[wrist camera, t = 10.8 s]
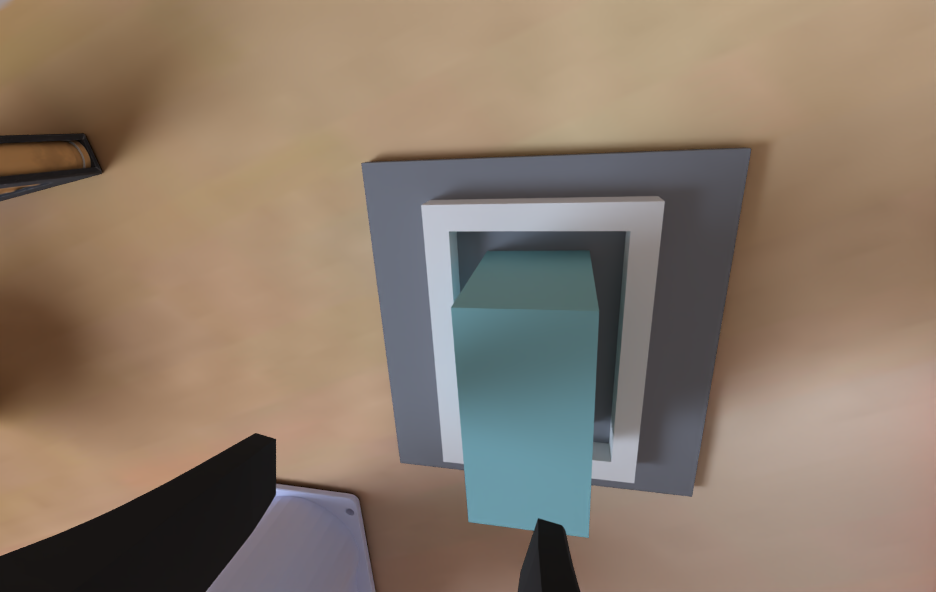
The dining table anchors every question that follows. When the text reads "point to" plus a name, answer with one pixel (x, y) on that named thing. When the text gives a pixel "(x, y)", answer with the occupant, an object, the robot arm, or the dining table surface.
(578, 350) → the light blue rectangular block
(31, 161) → the ammunition clip
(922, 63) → the dining table surface
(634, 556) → the dining table surface
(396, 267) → the grey square tray
